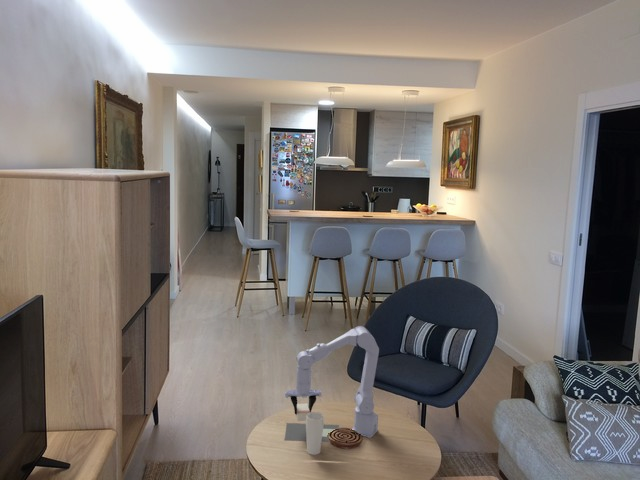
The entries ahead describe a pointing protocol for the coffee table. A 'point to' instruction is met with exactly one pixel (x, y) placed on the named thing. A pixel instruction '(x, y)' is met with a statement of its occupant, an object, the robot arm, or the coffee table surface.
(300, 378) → the robot arm
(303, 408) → the card box
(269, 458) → the coffee table surface
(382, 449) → the coffee table surface
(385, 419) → the coffee table surface
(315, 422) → the white cylinder
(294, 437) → the mat
